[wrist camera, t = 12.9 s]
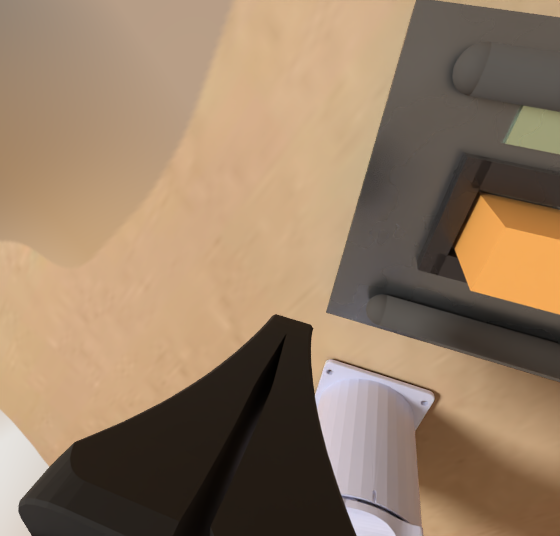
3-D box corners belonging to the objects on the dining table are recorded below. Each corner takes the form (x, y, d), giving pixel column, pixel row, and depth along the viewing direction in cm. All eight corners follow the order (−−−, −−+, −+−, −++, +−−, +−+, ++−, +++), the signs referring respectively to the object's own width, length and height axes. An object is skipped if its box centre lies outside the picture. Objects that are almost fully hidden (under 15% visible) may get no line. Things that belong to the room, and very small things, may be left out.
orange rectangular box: (527, 262, 16) (568, 316, 13) (452, 243, 17) (470, 290, 13) (561, 210, 15) (618, 254, 11) (477, 191, 16) (505, 227, 12)
